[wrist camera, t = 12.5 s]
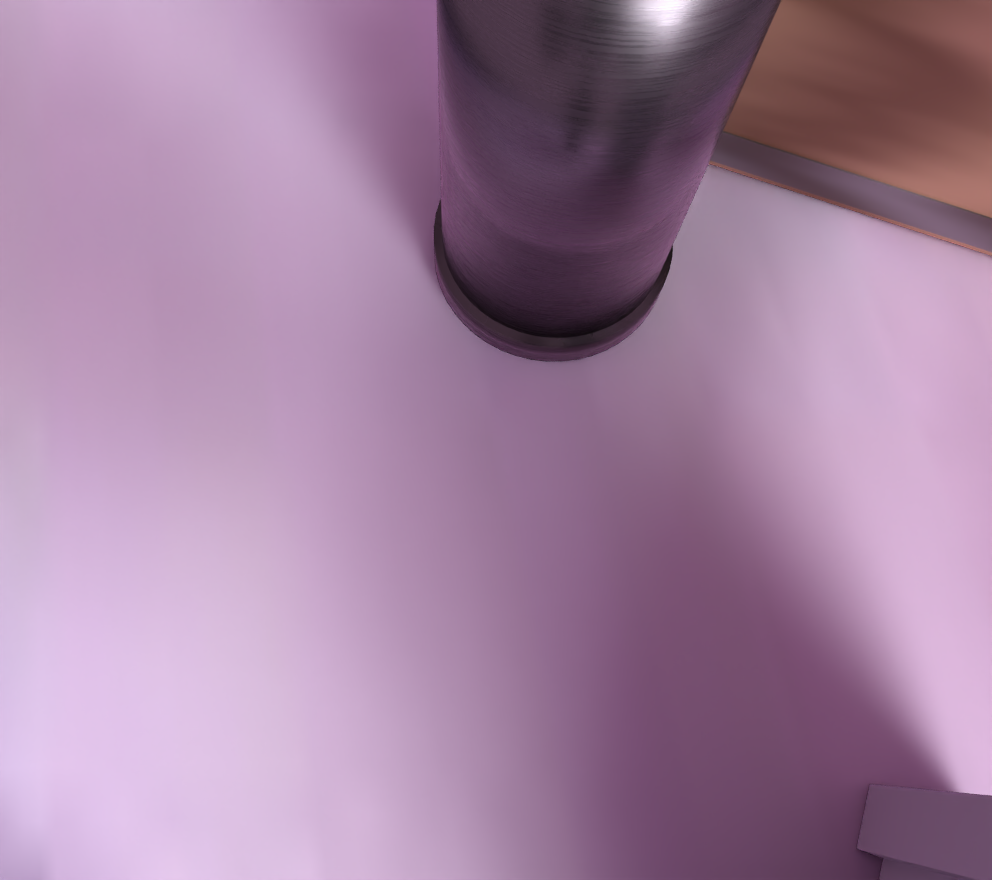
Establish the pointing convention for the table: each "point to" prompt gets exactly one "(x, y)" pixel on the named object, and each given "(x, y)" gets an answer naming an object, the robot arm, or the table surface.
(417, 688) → the table surface
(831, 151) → the door
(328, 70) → the table surface
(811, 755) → the table surface
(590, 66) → the dark metallic tumbler
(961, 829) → the wall frame
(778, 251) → the table surface
